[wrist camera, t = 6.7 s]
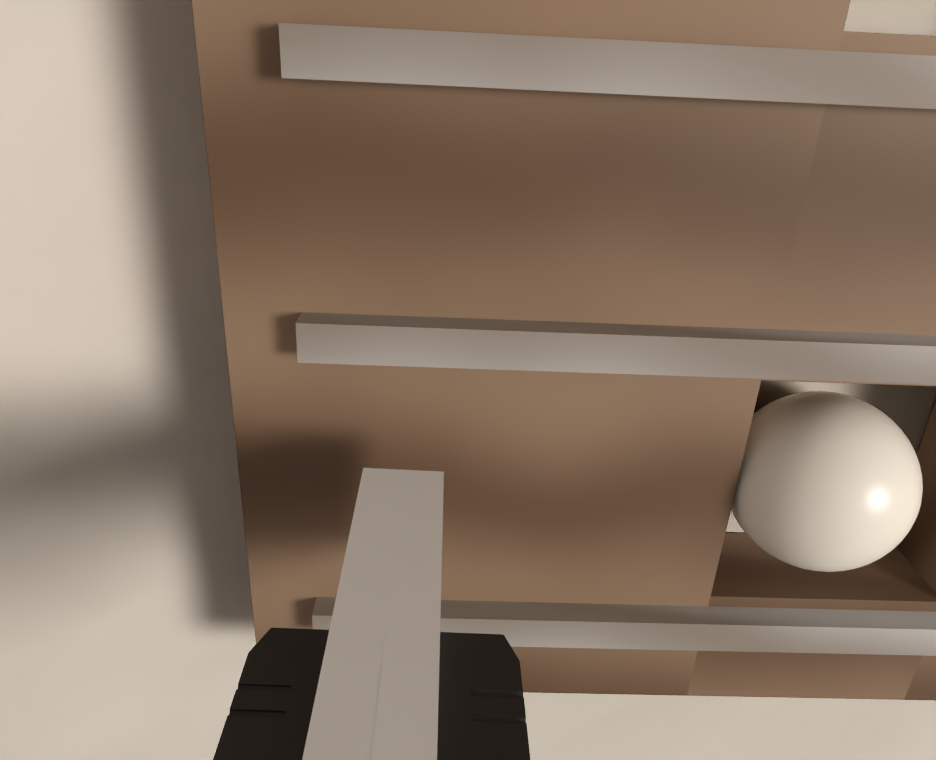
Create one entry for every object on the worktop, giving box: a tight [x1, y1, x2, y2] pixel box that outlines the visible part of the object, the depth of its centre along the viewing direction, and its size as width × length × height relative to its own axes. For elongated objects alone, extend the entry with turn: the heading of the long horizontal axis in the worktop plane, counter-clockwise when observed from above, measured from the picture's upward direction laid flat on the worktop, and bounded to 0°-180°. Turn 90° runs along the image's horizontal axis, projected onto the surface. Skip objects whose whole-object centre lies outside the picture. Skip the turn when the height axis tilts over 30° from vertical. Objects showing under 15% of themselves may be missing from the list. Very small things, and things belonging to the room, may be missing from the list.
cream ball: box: [731, 391, 923, 572], centre depth 17 cm, size 4×4×4 cm
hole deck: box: [192, 0, 936, 700], centre depth 14 cm, size 24×19×3 cm
